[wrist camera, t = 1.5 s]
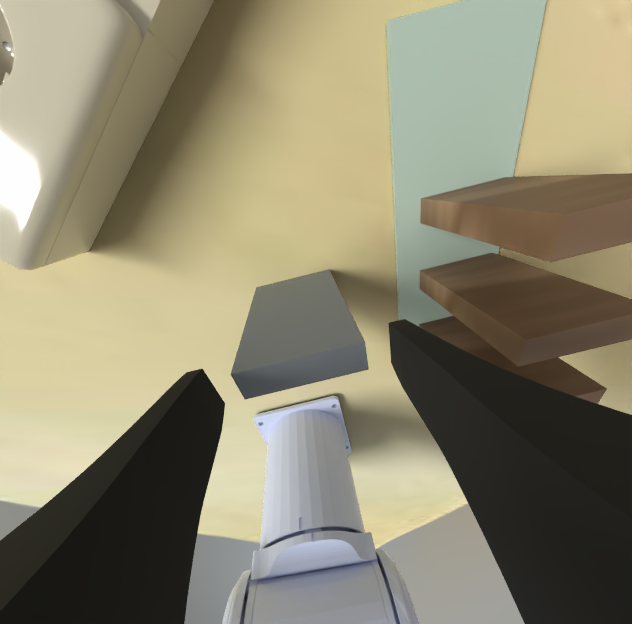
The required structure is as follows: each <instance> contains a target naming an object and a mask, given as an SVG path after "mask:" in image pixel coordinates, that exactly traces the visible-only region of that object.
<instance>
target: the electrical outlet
mask: <svg viewBox="0 0 632 624" xmlns="http://www.w3.org/2000/svg"><path fill="white" fill-rule="evenodd" d="M213 2H214V0H0V260H2V261H4V262H6V263H8V264H10V265H12V266H14V267H16V268H18V269H21V270H33V269H36V268H39V267H43V266H46V265H49V264H52V263H55V262H58V261H61V260H64V259H67V258H70V257H73V256H76V255H79V254H82V253H85V252H88V251H89V250H90V248H91V246H92V244H93V242H94V240H95V238H96V236H97V234H98V232H99V230H100V228H101V226H102V224H103V222H104V220H105V218H106V216H107V214H108V212H109V210H110V208H111V206H112V204H113V202H114V200H115V198H116V196H117V194H118V192H119V190H120V188H121V186H122V184H123V182H124V180H125V178H126V176H127V174H128V172H129V170H130V168H131V166H132V164H133V162H134V160H135V158H136V156H137V154H138V152H139V150H140V148H141V146H142V144H143V142H144V140H145V138H146V136H147V134H148V132H149V130H150V128H151V126H152V124H153V122H154V120H155V118H156V116H157V114H158V112H159V110H160V108H161V106H162V104H163V102H164V100H165V98H166V96H167V94H168V92H169V90H170V88H171V86H172V84H173V82H174V80H175V78H176V76H177V74H178V72H179V70H180V68H181V66H182V64H183V62H184V60H185V58H186V56H187V54H188V52H189V50H190V48H191V46H192V44H193V42H194V40H195V38H196V36H197V34H198V32H199V30H200V28H201V26H202V24H203V22H204V20H205V18H206V16H207V14H208V12H209V10H210V8H211V6H212V4H213Z"/></svg>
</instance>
